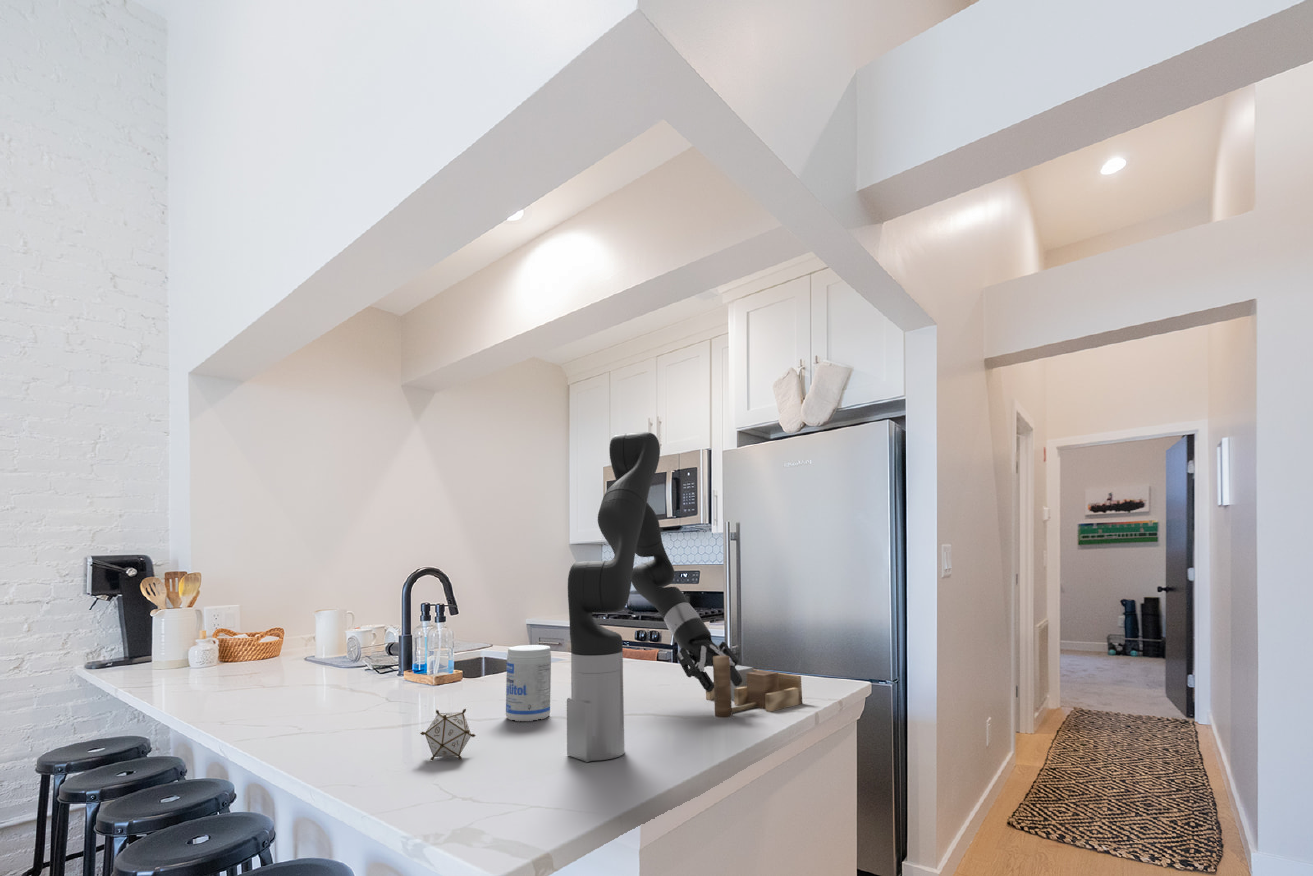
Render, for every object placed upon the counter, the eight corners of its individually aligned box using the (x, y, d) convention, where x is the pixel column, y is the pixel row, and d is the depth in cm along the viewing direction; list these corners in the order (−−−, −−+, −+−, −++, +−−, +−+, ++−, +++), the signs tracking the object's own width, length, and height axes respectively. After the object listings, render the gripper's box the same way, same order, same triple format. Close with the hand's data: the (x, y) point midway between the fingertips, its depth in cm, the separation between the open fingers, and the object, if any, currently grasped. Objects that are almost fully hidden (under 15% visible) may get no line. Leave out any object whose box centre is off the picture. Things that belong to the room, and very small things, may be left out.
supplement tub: (497, 721, 150) (497, 649, 152) (520, 711, 158) (520, 644, 161) (537, 724, 146) (537, 650, 149) (558, 713, 155) (558, 644, 157)
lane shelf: (769, 711, 152) (768, 682, 153) (706, 699, 166) (705, 672, 167) (802, 703, 159) (800, 675, 160) (738, 692, 173) (737, 666, 174)
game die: (456, 778, 124) (490, 725, 128) (445, 773, 117) (481, 717, 121) (416, 750, 126) (451, 699, 130) (402, 744, 119) (440, 690, 123)
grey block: (740, 701, 163) (738, 670, 164) (724, 698, 166) (723, 668, 168) (754, 698, 166) (753, 667, 167) (739, 695, 170) (737, 665, 171)
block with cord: (726, 718, 147) (723, 658, 149) (709, 714, 150) (707, 656, 152) (779, 705, 158) (776, 649, 160) (762, 702, 162) (760, 647, 163)
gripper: (671, 619, 154) (710, 680, 144) (717, 614, 163) (756, 670, 153) (656, 642, 157) (693, 703, 147) (701, 636, 166) (739, 693, 156)
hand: (725, 686), depth 150 cm, fingers open, 8 cm apart
